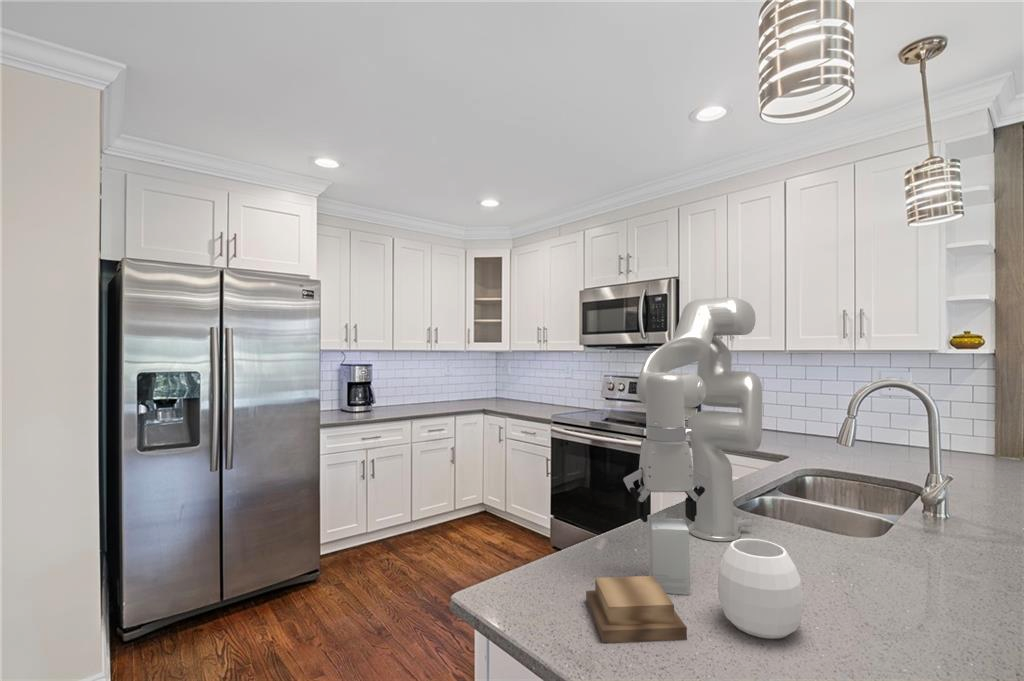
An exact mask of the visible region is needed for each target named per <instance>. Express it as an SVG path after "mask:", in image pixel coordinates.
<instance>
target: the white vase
mask: <svg viewBox="0 0 1024 681" xmlns="http://www.w3.org/2000/svg"><path fill="white" fill-rule="evenodd" d="M717 575H718V576H717V593H718V594H717V595H718V596H717V597H718V600H719V603H720V605H721V608H722V611H723V613H724V615H725V616H724V617H726V619H728V621H730V623H731V624H732V625H733V626H735V627H736V628H737V629H738V630H740V631H741V632H744V633H746V634H748V635H751V636H755V637H757V638H762V639H771V640H774V639H776V640H777V639H783V638H785V637H786V636H789V635H790V634H792V633H793V632H796V631H797V630H798V628H799V626H800V623H801V621H802V619H803V618H802V617H803V613H804V594H803V585H802V579H801V577H800V575H799V572H798V569H797V567H796V564H795V563H794V562H793V560H792V558H791V556H790V555H789V553H788V552H787V550H786V549H785V548H784V547H783V546H781V545H779V544H777V543H774V542H771V541H769V540H764V539H760V538H759V539H758V538H738V539H736V540H733V541H731V543H730V544H729V546H728V547H727V550H726V551H725V552H724V554H723V556H722V558H721V562H720V564H719V566H718V574H717Z"/></svg>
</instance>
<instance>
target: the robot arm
mask: <svg viewBox="0 0 1024 681" xmlns="http://www.w3.org/2000/svg"><path fill="white" fill-rule="evenodd" d="M756 320H757V319H756V313H755V310H754V308H753V306H752V304H750V303H749V302H748V301H746V300H743V299H741V298H737V297H729V296H728V297H727V296H726V297H716V298H701V299H695V300H691V301H689V302H688V303H687V304H686V305H685V306H684V308H683V309H682V311H681V316H680V318H679V321H678V324H677V326H676V330H675V332H674V335H673V338H671V339H670V340H669V341H666V342H665V343H663V344H662V345H661V346H660V347H658V348H656V349H655V350H654V351H653V352H651V354H649V355H648V356H647V357H646V359H645V361H644V362H643V364H642V368H641V370H640V372H639V376H638V379H637V382H636V396H637V398H638V400H639V401H640V403H642V404H643V405H645V411H646V413H645V414H646V416H645V417H646V418H645V419H646V420H645V421H646V424H645V425H646V439H643V440H642V442H641V447H640V454H639V462H638V463H639V465H638V470H635V471H633V472H632V473H630V474H628V475H626V476H624V477H623V480H622V481H623V482H624V485H625V487H626V488H627V490H628V492H629V493H630V494H631V495H632V496H633V497H635V499H636V515H637V517H639V519H640V520H641V521H642V523H647V522H648V502H647V501H646V499H647V498H648V496H650V494H651V493H685V495H686V496H687V497H685V499H684V500H685V502H684V503H685V509H684V511H685V518H686V519H687V520H689V521H690V522H691V523H690V524H688V526H687V527H688V530H689V534H691V535H693V536H694V537H695V538H696V537H697V538H700V539H703V540H706V541H707V540H708V541H714V542H733V541H735V540H738V539H740V537H741V530H740V529H741V527H745V528H747V527H748V528H749V527H753V526H754V525H753V524H754V523H753V520H752V519H751V518H743V517H742V516H735V515H734V494H733V493H734V488H733V467H732V463H731V461H730V459H729V458H728V457H727V455H726V454H725V452H724V450H730V451H742V452H754V451H757V450H758V449H759V448H760V447H761V443H762V439H763V438H762V437H763V387H762V386H763V385H762V382H761V379H760V377H759V376H758V375H757V373H754V372H752V371H749V370H748V371H745V370H740V371H738V370H737V371H736V370H732V356H733V355H732V352H731V350H730V349H729V348H728V346H727V345H726V343H724V342H723V341H722V340H721V339H720V338H719V336H720V337H721V336H727V337H728V336H745V335H749V334H751V333H752V332H753V331H754V329H755V325H756ZM694 363H697V372H696V373H693V372H675V371H674V372H673V371H672V370H675V369H679V368H682V367H684V366H688V365H691V364H694ZM700 405H703V406H706V407H717V408H733V409H734V408H737V409H740V410H741V412H731V411H719V410H718V411H717V410H716V411H715V410H702V411H697V412H695V413H693V414H692V415H691V416H690V418H689V420H688V422H687V426H688V427H686V424H685V422H686V420H685V418H686V416H685V414H686V412H685V409H692V408H696V407H698V406H700ZM688 436H689V440H690V444H689V442H688V441H686V440H687V437H688ZM690 446H691V448H690ZM637 480H638V484H639V485H640V487H639V488H638V490H637V489H636V487H635V486H634V482H635V481H637Z"/></svg>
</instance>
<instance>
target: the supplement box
mask: <svg viewBox="0 0 1024 681" xmlns="http://www.w3.org/2000/svg"><path fill="white" fill-rule="evenodd" d="M648 545H649V546H648V552H649V576H653V577H654V578H655V580H656V581H657V582H658V584H659V585H660V586H661V588H662V589H663V591H664V592H665V593H666V594H667V595H668V594H670V595H683V596H690V595H691V559H690V532H689V530H688V526H687V523H686V521H685V519H684V518H671V517H670V518H668V517H666V518H665V517H648Z"/></svg>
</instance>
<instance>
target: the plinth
mask: <svg viewBox="0 0 1024 681" xmlns="http://www.w3.org/2000/svg"><path fill="white" fill-rule="evenodd" d="M594 581H595V582H594V584H595V586H594V588H595V589H592V590H591V589H590V590H585V599H586V604H587V606H588V608H589V612H590V614H591V617H592V620H593V622H594V624H595V627H596V630H597V632H598V634H599V637H600V640H601V643H602V644H613V643H614V644H615V643H635V642H636V643H637V642H638V643H639V642H658V641H659V642H661V641H680V640H682V641H684V640H688V633H687V630H688V629H687V626H686V624H685V623H684V621H683V620H682V619H681V617H680V616H679V615H678V613H677V612H676V611H675V604H674V603H673V601H671V599H670V597H669V596H668V594H667V593H665V592H664V591H663V589H662V588H661V586H660V585H659V584H658V582H657V581H656V580H655V578H654V577H653V576H650V575H643V576H642V575H640V576H636V575H635V576H614V577H612V576H611V577H609V576H607V577H595V578H594Z"/></svg>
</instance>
